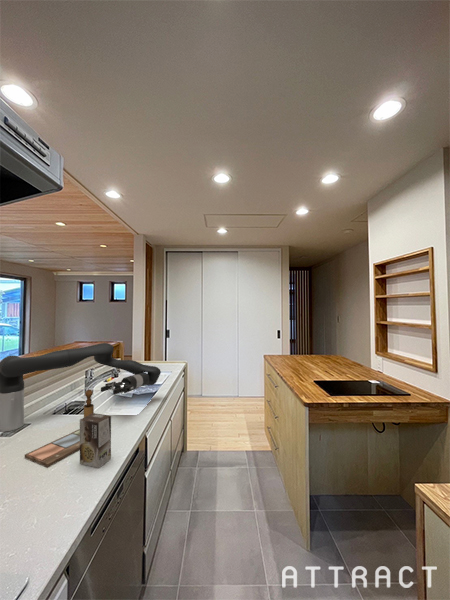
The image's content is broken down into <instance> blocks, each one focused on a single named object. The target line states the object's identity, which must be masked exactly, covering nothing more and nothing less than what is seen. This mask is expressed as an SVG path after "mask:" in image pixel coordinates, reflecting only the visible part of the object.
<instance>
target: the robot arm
mask: <svg viewBox="0 0 450 600" xmlns="http://www.w3.org/2000/svg"><path fill="white" fill-rule="evenodd" d="M113 353H114V346H113V345H112V343H108V342H103V343H102V342H101V343H97V344H93V345H88V346H83V347H76V348H69V349H66V348H65V349H60V350H59V349H58V350H55V351H51V352H47V353H44V354H42V355H41V354H40V355H37V356H28V357H25V356H24V357H21V356H19V355H8V356H6V357H3V358H2V360H0V432H3V433H4V432H5V433H6V432H10V431H14V430H17V429H20V428H22V427H23V426H24V424H25V381H24V375H29V374H32V373H35V372H41V371H50V370H57V369H64V368H68V367H73V366H75V365H76V364H79V363H80V362H82V361H84V360H86V359H88V358H91V357H93V359H94V361H95V362H96V363H97V364H101V365H103V366H106V367H110V368H115V369H119V370H123V371H126V372H128V373H129V374H132V375H129V376H125V377H123V378H122V379H121V381H118V382H116V381H112V382H108V383H105V384H104V386H101V387H100V392H101V393H103V392H106V391H110V390H111V391H112V395H117V394H122V393H123V394H126V393H129V392H132V391H134V390H137V389H139V388H140V387H143V386H154V385H155V384H156V383H157V382H158V380H159V378H160V376H161V373H162V371H161V369H160V368H159V367H157V366H153V365H147V364H143V363H141V362H138V361H136V360H133V359H117V358H114V357H113V356H112V355H113Z"/></svg>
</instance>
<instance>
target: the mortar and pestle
mask: <svg viewBox="0 0 450 600" xmlns="http://www.w3.org/2000/svg"><path fill="white" fill-rule="evenodd" d="M93 393H94V392H93V390H92V389H87V390H85V393H84V396H85V397H86V400H85V403H86V404H85V405H84V406H83V418H84V417H86V416H88V415H90V414H92V413H94V411H95V410H94V409H95V405H94V404H93V403H92V399H91V398H92V396H93Z"/></svg>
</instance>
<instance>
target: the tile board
mask: <svg viewBox="0 0 450 600" xmlns="http://www.w3.org/2000/svg"><path fill="white" fill-rule="evenodd" d="M77 452H80V428H78V429H76V430H75V431H72V432H70V433H67V434H65V435H63V436H62V437H60V438H57V439H55V440H53V441H50V442H49V443H46V444H45V445H42V446H40V447H38V448H36V449H33V450H32V451H30V452H27V453H26V454H24V459H26V460H28V461H32V462H34V463H36V464H38V465H40V466H43V467H45V468H50V467H52V466H53V465H55V464H57V463H59V462H60V461H63V460H64V459H66V458H68V457H70V456H71V455H74V454H75V453H77Z"/></svg>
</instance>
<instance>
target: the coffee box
mask: <svg viewBox="0 0 450 600" xmlns="http://www.w3.org/2000/svg"><path fill="white" fill-rule="evenodd" d="M79 429H80V450H79V464H81V465H84V466H89V467H92V468H97V469H100V468H101V467H102V466H103V465H105V464H106V463H108V462H109V461H110V460H112V415H110V414H109V415H108V414H102V413H101V414H100V413H92V414H90V415H88V416H86V417H84V416H83V418H80V419H79Z"/></svg>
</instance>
